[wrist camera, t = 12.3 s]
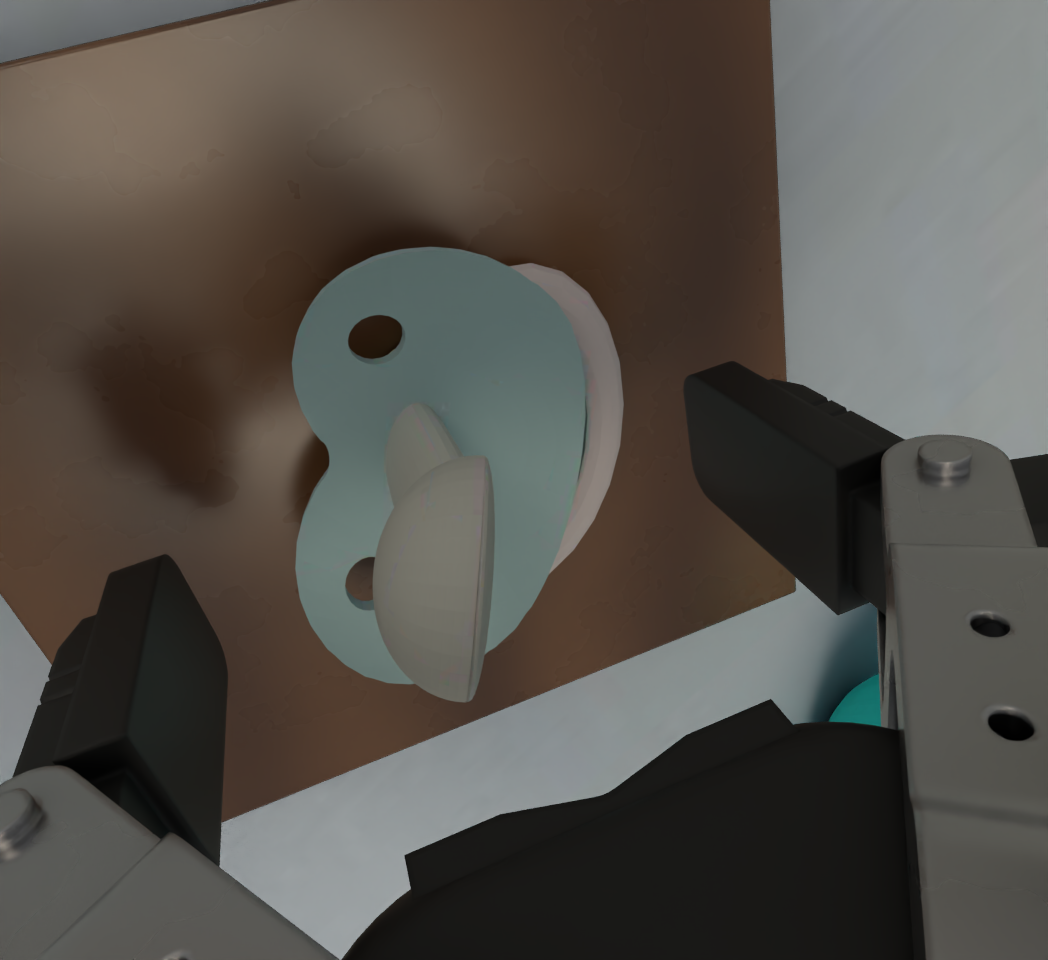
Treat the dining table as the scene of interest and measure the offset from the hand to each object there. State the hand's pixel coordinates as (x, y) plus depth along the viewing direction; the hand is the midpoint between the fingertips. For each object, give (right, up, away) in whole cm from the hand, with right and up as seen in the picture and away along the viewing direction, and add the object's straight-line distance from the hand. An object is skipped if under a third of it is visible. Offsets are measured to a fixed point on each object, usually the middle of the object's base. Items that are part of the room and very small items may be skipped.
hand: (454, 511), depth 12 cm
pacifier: (0, +1, +3) cm, 3 cm away
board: (-1, +2, +3) cm, 4 cm away
